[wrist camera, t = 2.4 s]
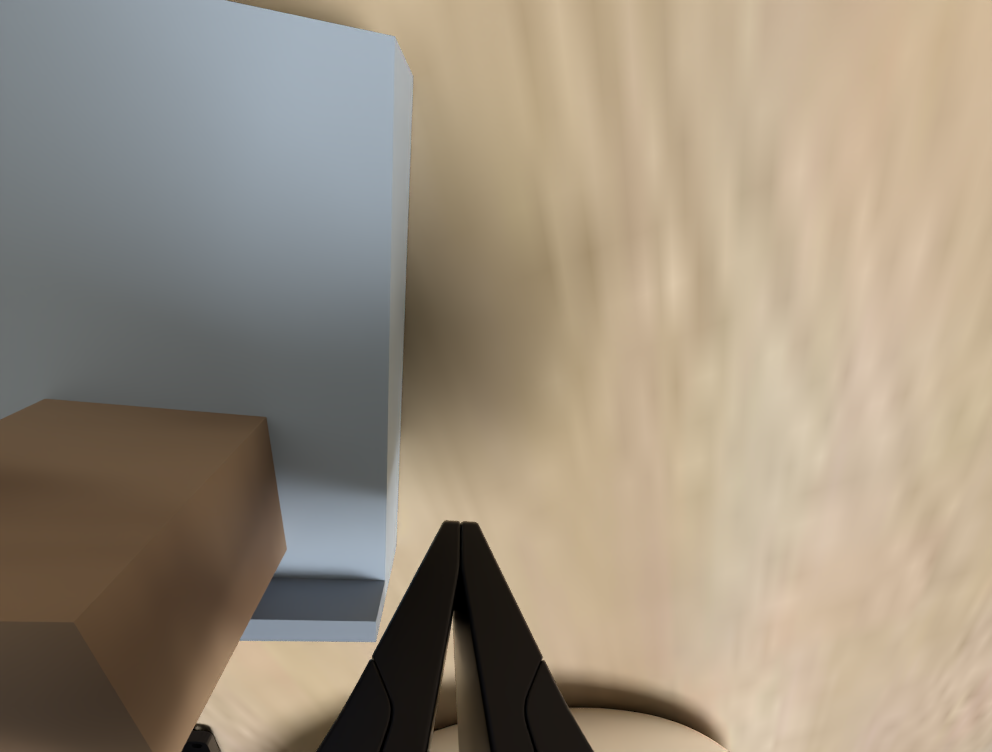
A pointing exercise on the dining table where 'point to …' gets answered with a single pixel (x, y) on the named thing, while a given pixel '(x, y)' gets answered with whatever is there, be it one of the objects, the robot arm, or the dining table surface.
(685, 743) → the bowl
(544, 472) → the dining table surface
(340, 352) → the light blue slotted tray
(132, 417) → the block
